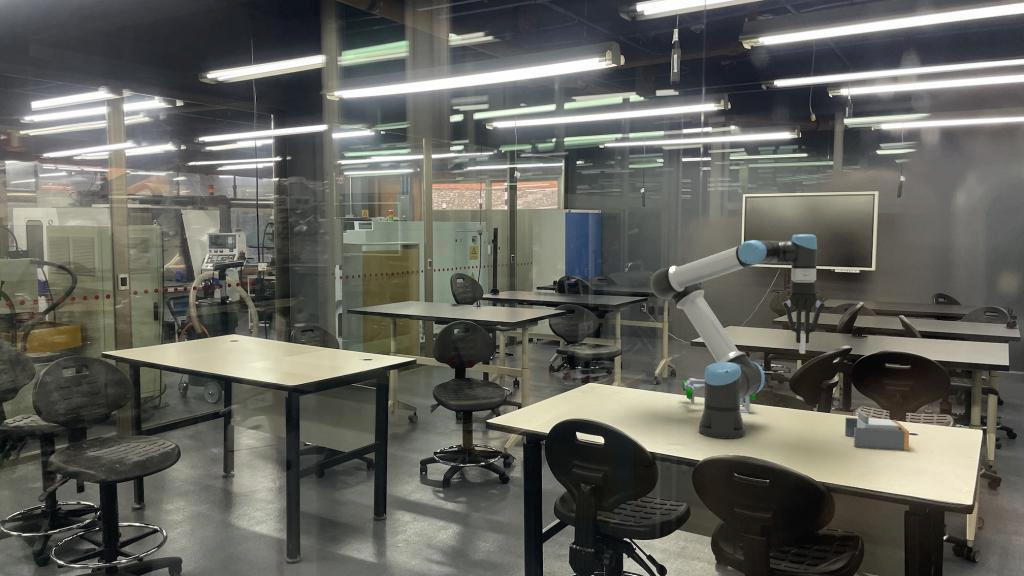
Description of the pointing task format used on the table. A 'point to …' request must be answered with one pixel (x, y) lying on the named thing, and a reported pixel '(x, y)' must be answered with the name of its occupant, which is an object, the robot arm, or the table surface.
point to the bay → (877, 436)
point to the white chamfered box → (875, 422)
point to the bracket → (692, 389)
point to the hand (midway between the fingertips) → (802, 352)
